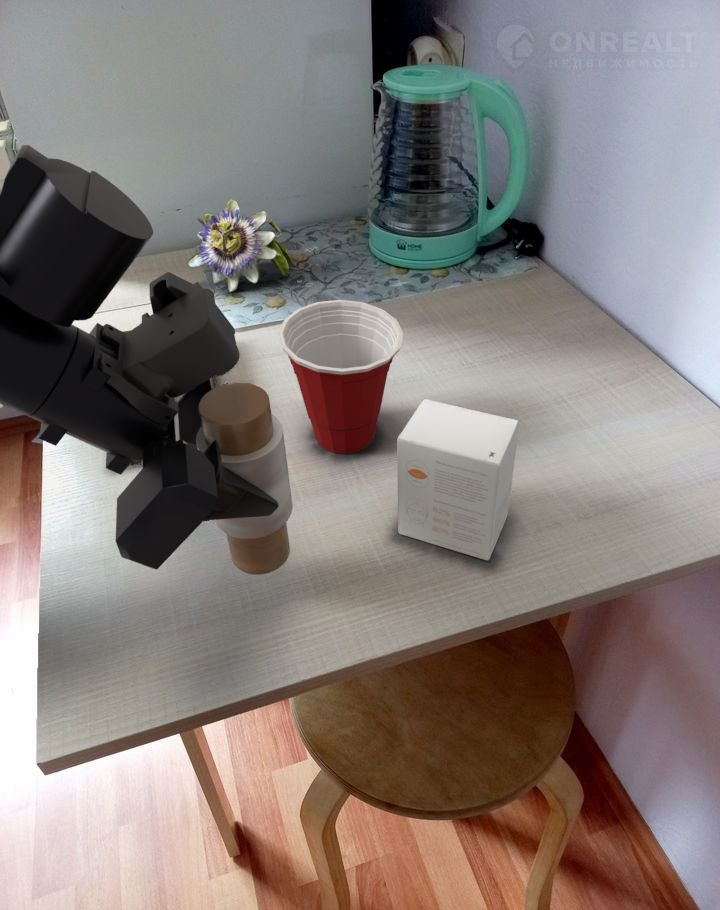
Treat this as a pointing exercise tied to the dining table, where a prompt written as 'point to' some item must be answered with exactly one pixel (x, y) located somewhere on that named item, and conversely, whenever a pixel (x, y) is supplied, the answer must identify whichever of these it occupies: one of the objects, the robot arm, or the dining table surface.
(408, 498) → the small box
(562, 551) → the dining table surface
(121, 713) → the dining table surface
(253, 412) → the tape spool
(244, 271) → the passion flower
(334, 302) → the plastic cup
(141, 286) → the dining table surface
